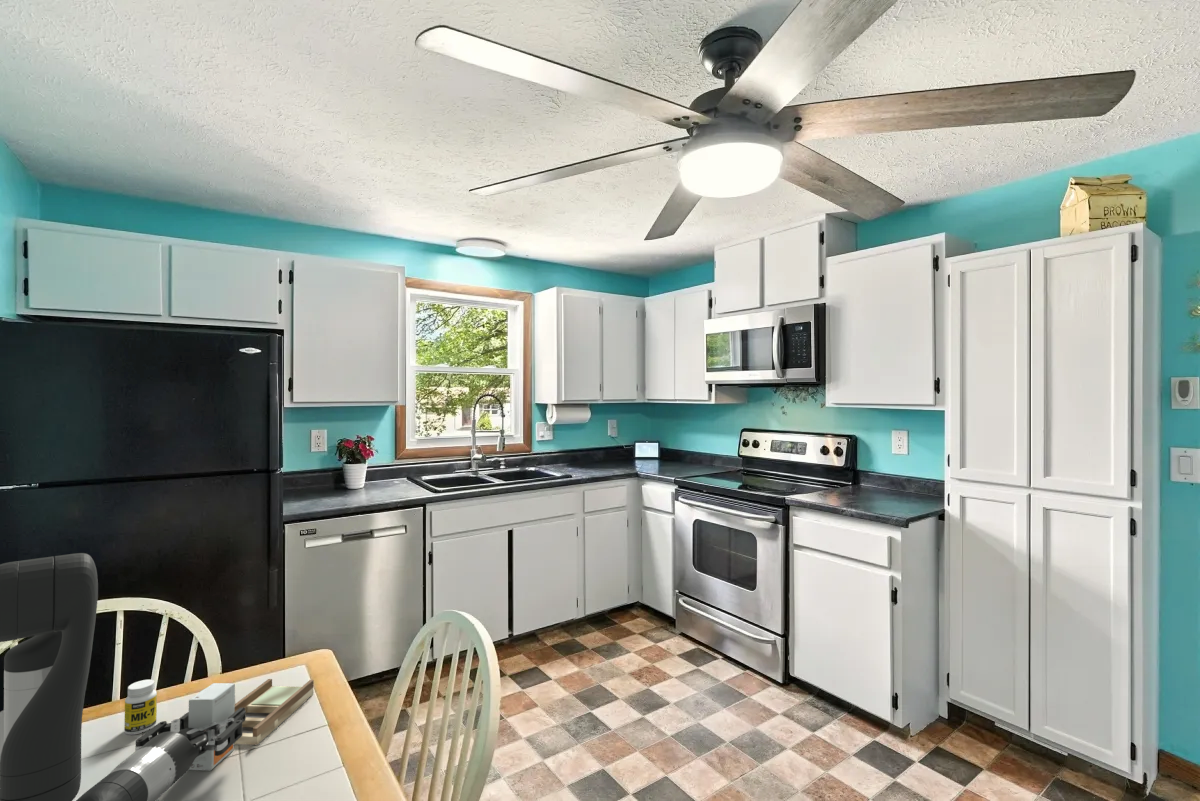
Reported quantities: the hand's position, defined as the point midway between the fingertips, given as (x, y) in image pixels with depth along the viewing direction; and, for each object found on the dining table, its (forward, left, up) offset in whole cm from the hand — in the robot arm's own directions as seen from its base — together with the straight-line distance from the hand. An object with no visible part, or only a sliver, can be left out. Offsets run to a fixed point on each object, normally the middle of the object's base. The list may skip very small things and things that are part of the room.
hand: (219, 713), depth 100 cm
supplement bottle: (-21, +6, -7) cm, 23 cm away
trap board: (0, +11, -7) cm, 13 cm away
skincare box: (0, -2, -7) cm, 7 cm away
